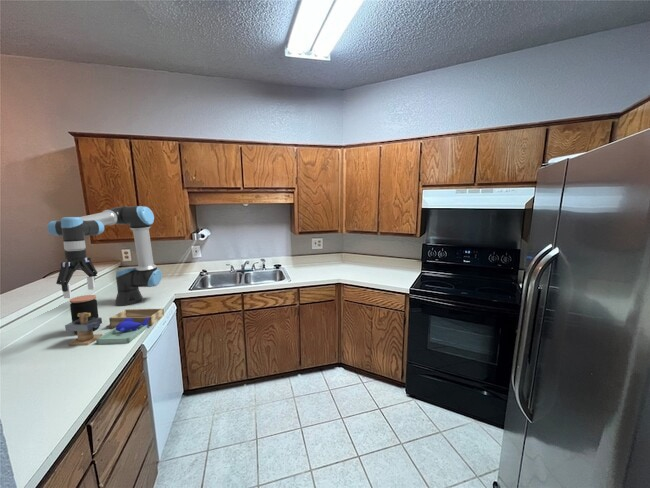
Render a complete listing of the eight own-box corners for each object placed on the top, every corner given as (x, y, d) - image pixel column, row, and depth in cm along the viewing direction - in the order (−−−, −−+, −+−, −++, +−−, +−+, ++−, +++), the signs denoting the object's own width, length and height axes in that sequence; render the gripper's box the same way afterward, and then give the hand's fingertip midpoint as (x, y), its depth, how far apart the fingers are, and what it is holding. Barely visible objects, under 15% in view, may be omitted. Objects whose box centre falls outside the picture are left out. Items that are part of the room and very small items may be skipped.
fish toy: (114, 334, 137) (113, 321, 138) (117, 332, 144) (116, 319, 145) (149, 329, 144) (148, 316, 145) (151, 326, 151) (150, 314, 152)
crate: (126, 319, 161) (125, 309, 160) (164, 318, 162) (163, 308, 161) (110, 328, 148) (109, 318, 147) (151, 327, 149) (150, 317, 148)
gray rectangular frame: (81, 323, 138) (80, 317, 138) (105, 322, 139) (104, 317, 138) (65, 331, 129) (64, 325, 129) (91, 330, 130) (90, 324, 130)
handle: (84, 336, 139) (81, 310, 137) (102, 336, 140) (99, 309, 138) (68, 345, 130) (65, 317, 129) (88, 344, 131) (84, 316, 129)
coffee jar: (97, 324, 154) (93, 293, 152) (102, 329, 147) (98, 297, 145) (71, 331, 146) (67, 298, 143) (75, 336, 139) (71, 302, 137)
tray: (119, 329, 147) (119, 325, 147) (148, 328, 148) (148, 324, 148) (96, 344, 131) (96, 339, 131) (128, 343, 132) (128, 338, 132)
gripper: (88, 246, 141) (92, 286, 144) (40, 254, 117) (47, 302, 119) (103, 246, 142) (107, 286, 144) (59, 253, 117) (65, 301, 120)
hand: (80, 293), depth 132 cm, fingers open, 13 cm apart
